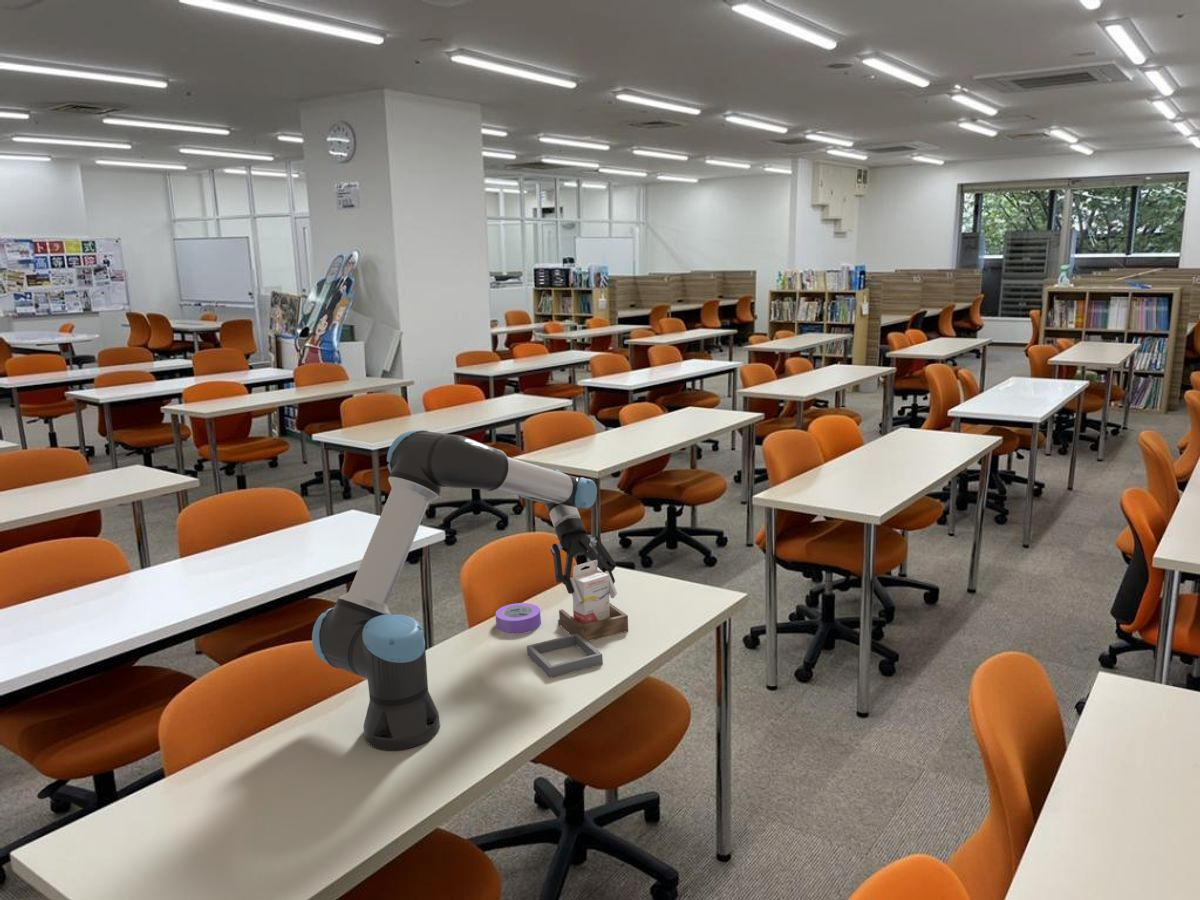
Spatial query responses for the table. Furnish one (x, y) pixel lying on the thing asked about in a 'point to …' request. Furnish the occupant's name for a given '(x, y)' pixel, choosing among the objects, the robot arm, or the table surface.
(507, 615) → the masking tape
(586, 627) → the wooden tray
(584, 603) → the ink cartridge box
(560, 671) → the socket
